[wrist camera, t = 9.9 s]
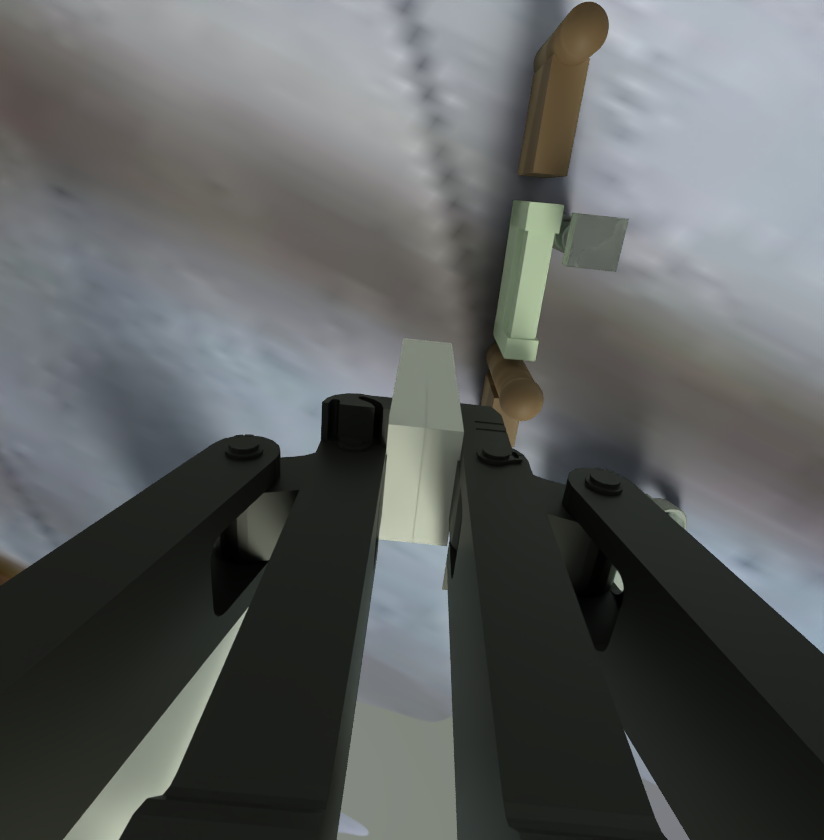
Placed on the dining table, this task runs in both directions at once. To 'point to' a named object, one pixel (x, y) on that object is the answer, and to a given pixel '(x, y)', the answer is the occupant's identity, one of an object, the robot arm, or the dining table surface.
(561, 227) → the post
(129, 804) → the bottle
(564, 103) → the fence far side
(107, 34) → the dining table surface
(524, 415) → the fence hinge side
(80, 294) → the dining table surface
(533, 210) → the gate
